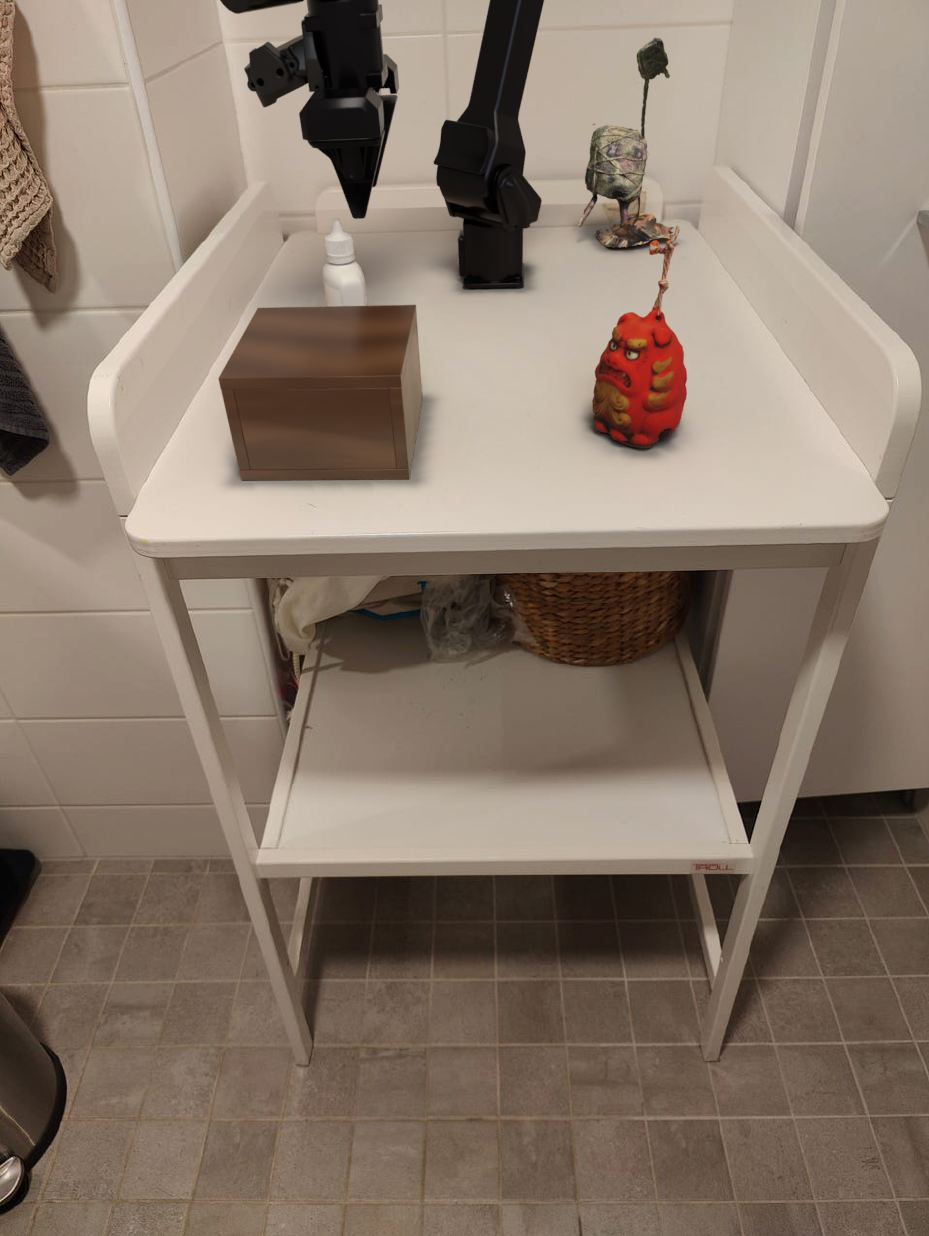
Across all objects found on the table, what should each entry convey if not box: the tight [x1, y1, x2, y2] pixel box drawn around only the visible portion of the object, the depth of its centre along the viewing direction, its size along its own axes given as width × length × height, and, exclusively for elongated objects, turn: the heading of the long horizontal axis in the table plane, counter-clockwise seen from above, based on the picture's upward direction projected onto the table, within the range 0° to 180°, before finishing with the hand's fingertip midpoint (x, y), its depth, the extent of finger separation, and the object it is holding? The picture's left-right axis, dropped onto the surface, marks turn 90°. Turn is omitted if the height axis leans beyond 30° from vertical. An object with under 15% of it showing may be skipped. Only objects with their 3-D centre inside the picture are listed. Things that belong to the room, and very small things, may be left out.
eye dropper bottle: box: [322, 218, 368, 307], centre depth 82 cm, size 4×6×12 cm
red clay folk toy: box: [591, 224, 688, 449], centre depth 68 cm, size 8×7×15 cm
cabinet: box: [217, 304, 423, 481], centre depth 71 cm, size 13×13×8 cm
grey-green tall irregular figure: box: [577, 36, 675, 249], centre depth 101 cm, size 8×11×20 cm
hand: (365, 201), depth 83 cm, fingers open, 9 cm apart
